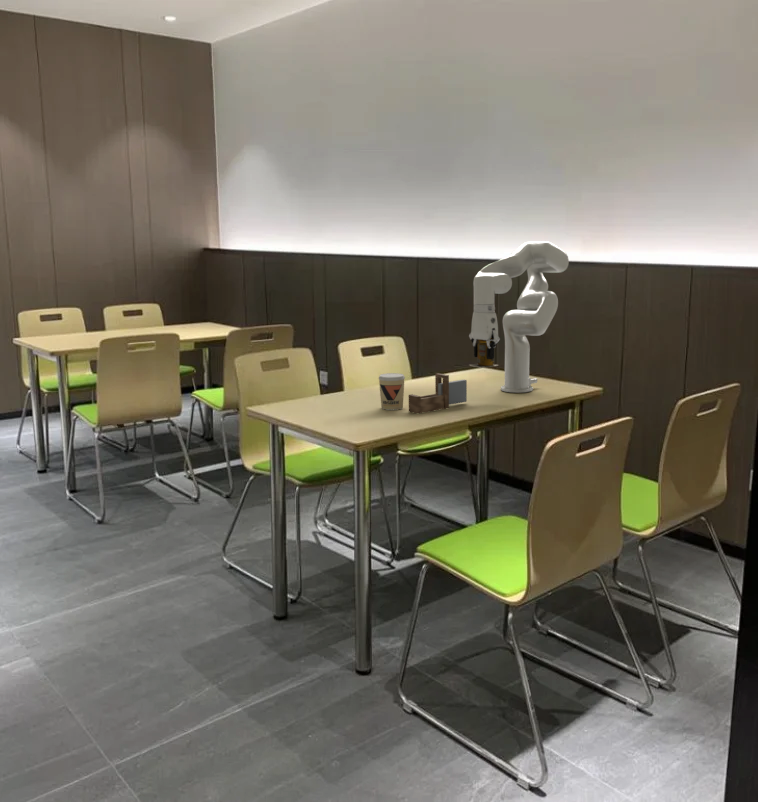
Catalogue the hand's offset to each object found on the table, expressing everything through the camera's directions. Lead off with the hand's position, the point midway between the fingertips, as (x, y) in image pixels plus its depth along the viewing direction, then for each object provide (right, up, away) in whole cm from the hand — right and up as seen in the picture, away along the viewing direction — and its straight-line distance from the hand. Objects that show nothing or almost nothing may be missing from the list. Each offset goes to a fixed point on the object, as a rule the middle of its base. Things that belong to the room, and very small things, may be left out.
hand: (483, 357), depth 291 cm
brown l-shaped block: (-20, -19, -11) cm, 30 cm away
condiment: (0, -3, +1) cm, 3 cm away
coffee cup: (-34, -19, -7) cm, 39 cm away
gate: (-12, -18, -5) cm, 22 cm away
